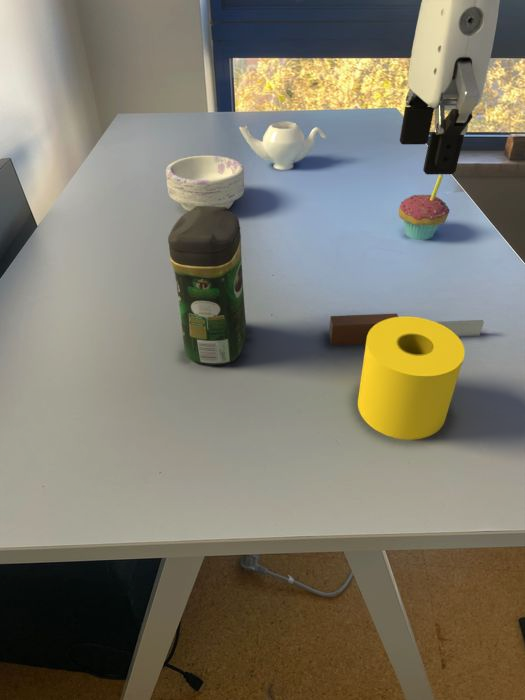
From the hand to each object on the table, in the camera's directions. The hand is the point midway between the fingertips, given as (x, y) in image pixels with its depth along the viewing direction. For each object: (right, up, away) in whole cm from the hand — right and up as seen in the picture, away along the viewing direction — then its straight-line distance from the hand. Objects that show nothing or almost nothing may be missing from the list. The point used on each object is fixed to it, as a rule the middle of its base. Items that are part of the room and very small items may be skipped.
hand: (425, 157), depth 57 cm
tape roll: (-2, -28, +4) cm, 28 cm away
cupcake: (+11, 0, +37) cm, 39 cm away
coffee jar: (-24, -21, +13) cm, 34 cm away
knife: (+1, -20, +14) cm, 24 cm away
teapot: (-13, +22, +65) cm, 70 cm away
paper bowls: (-29, +8, +49) cm, 57 cm away
